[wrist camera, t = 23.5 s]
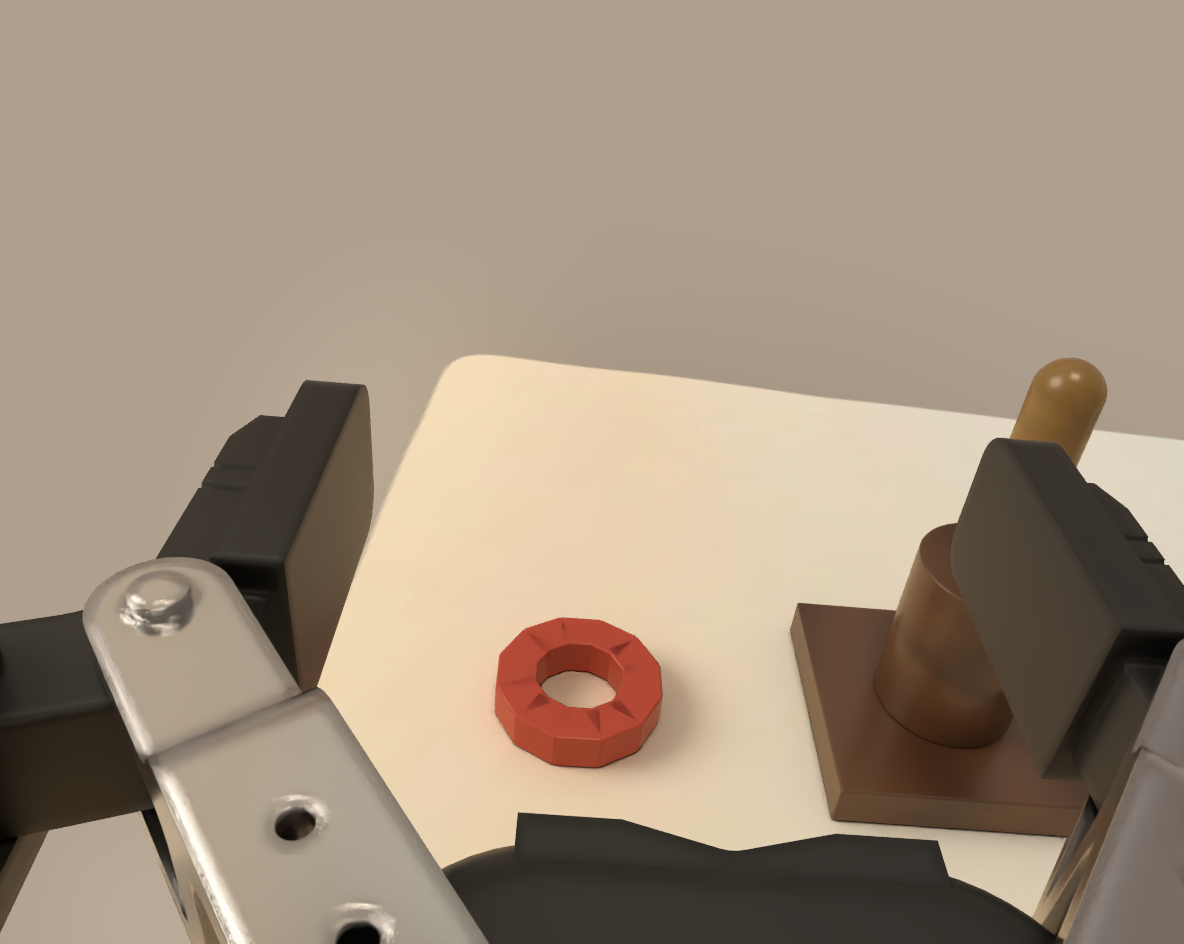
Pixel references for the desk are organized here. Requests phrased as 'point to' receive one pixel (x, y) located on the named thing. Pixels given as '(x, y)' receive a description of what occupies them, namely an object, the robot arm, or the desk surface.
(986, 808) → the ring stand
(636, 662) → the ring
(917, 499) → the desk surface
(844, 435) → the desk surface
